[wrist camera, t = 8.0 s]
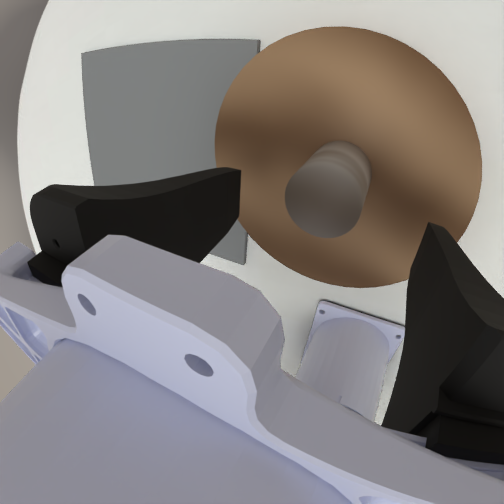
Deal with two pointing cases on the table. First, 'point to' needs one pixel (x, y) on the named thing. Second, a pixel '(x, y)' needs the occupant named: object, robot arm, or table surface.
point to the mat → (161, 112)
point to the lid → (348, 154)
